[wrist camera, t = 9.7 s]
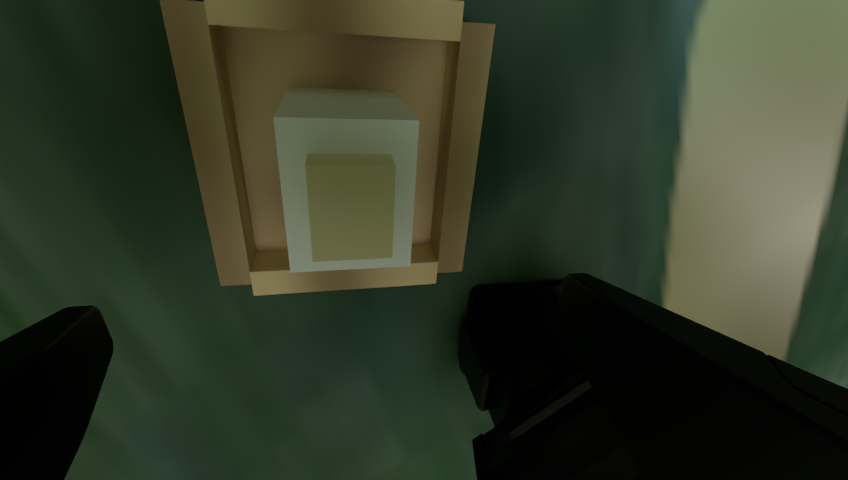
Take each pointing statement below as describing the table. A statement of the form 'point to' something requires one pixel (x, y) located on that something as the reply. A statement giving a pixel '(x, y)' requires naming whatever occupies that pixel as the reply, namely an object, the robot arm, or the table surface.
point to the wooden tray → (334, 69)
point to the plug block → (346, 178)
